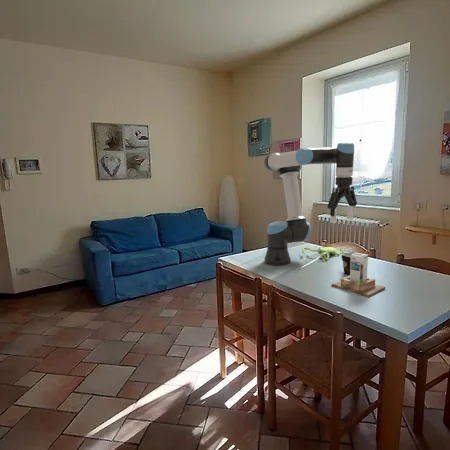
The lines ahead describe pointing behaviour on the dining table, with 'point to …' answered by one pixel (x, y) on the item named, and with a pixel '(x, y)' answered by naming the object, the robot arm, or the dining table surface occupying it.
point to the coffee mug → (346, 262)
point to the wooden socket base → (359, 286)
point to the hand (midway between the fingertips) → (341, 221)
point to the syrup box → (358, 267)
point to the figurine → (325, 249)
